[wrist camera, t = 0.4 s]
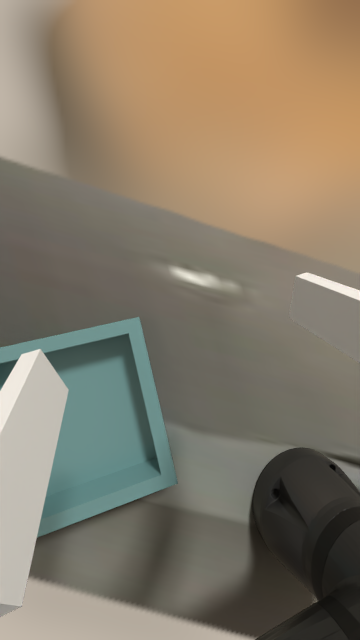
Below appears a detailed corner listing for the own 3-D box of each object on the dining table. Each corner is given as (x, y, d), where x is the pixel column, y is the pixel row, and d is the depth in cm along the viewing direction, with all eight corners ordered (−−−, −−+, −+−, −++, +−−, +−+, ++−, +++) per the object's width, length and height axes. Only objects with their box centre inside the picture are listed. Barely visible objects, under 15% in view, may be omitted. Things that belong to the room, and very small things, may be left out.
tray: (172, 459, 28) (177, 483, 24) (13, 517, 24) (-17, 558, 20) (140, 319, 28) (139, 316, 24) (-22, 355, 25) (-58, 360, 20)
